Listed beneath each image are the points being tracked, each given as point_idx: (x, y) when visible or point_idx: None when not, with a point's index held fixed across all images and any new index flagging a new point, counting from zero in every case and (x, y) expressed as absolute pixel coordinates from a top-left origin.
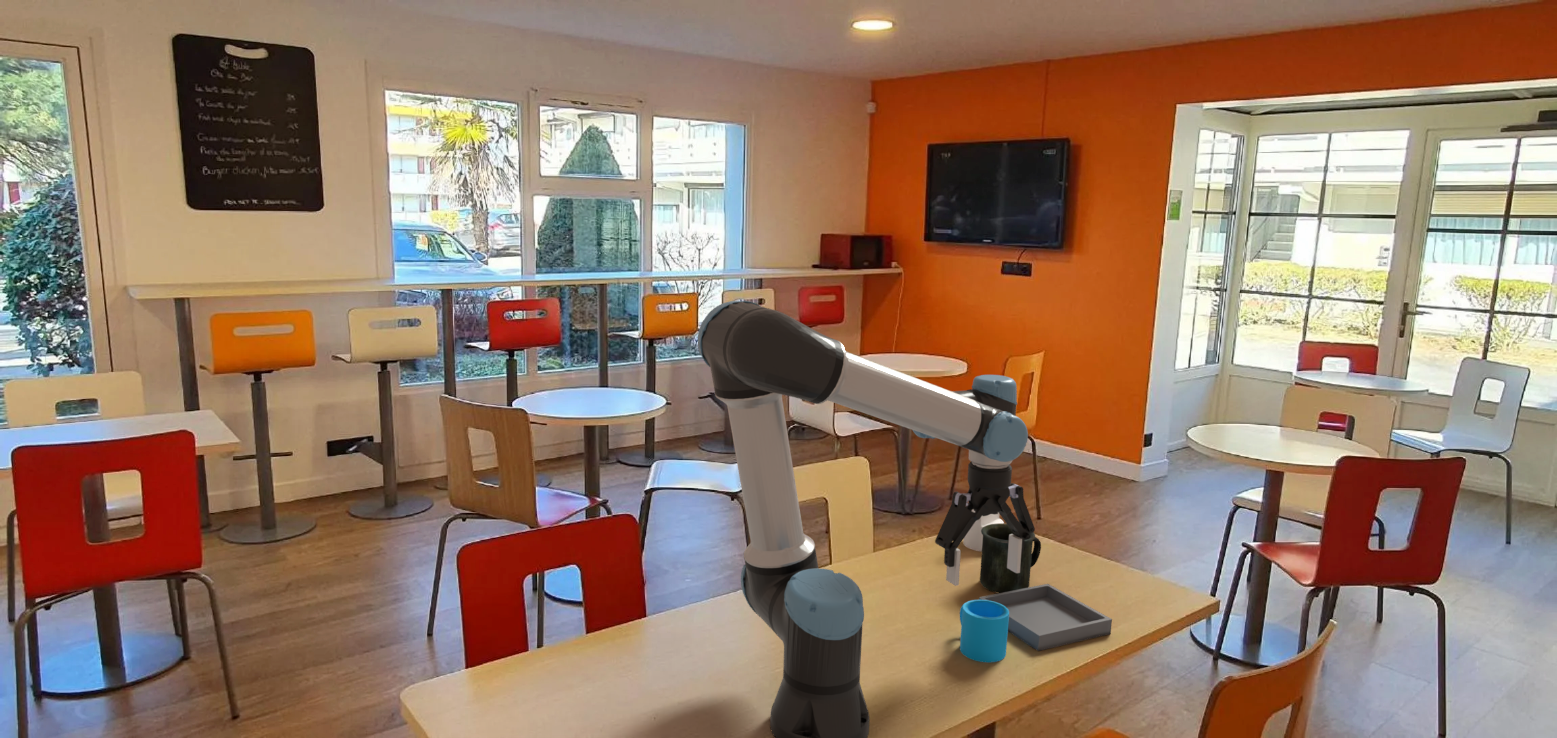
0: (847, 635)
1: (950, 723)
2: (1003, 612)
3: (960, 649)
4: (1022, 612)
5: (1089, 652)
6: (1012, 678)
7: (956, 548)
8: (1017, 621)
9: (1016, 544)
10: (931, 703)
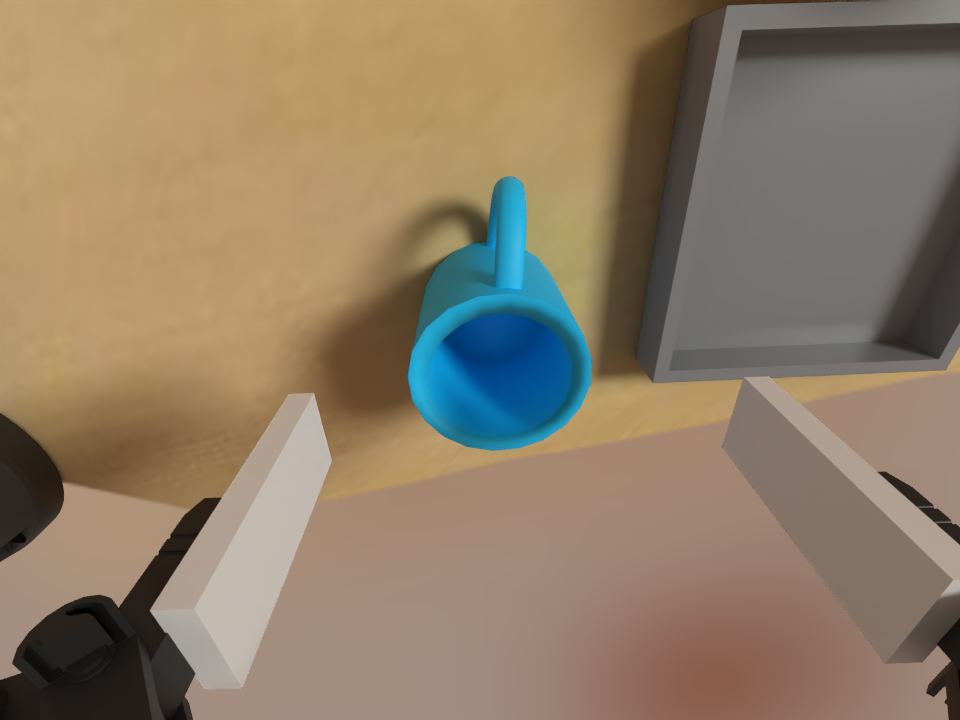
0: None
1: None
2: (561, 396)
3: (426, 286)
4: (820, 133)
5: None
6: None
7: (188, 708)
8: (673, 285)
9: (851, 592)
10: (234, 460)
